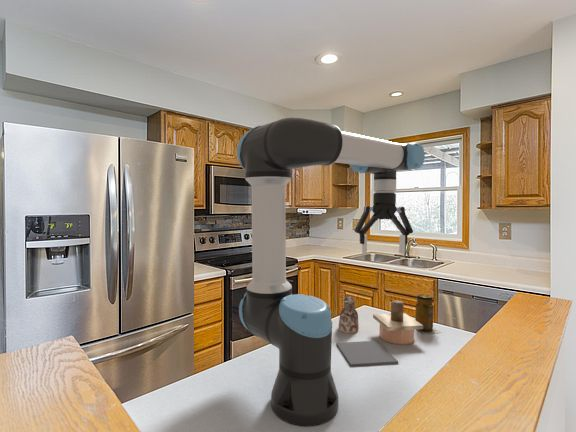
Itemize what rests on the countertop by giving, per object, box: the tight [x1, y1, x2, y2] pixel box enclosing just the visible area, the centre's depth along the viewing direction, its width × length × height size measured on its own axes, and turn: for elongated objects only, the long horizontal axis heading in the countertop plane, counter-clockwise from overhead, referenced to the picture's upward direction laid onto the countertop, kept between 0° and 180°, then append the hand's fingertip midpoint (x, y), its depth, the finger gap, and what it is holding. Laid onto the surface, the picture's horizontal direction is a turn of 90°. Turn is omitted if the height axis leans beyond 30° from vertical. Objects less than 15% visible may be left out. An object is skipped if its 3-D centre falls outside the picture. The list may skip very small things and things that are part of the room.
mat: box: [336, 340, 399, 367], centre depth 98 cm, size 14×14×1 cm
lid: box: [372, 299, 423, 331], centre depth 109 cm, size 12×12×7 cm
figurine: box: [338, 294, 359, 334], centre depth 117 cm, size 7×7×12 cm
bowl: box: [379, 323, 415, 346], centre depth 110 cm, size 11×11×5 cm
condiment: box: [414, 294, 442, 335], centre depth 117 cm, size 7×8×12 cm
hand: (383, 253), depth 112 cm, fingers open, 13 cm apart
